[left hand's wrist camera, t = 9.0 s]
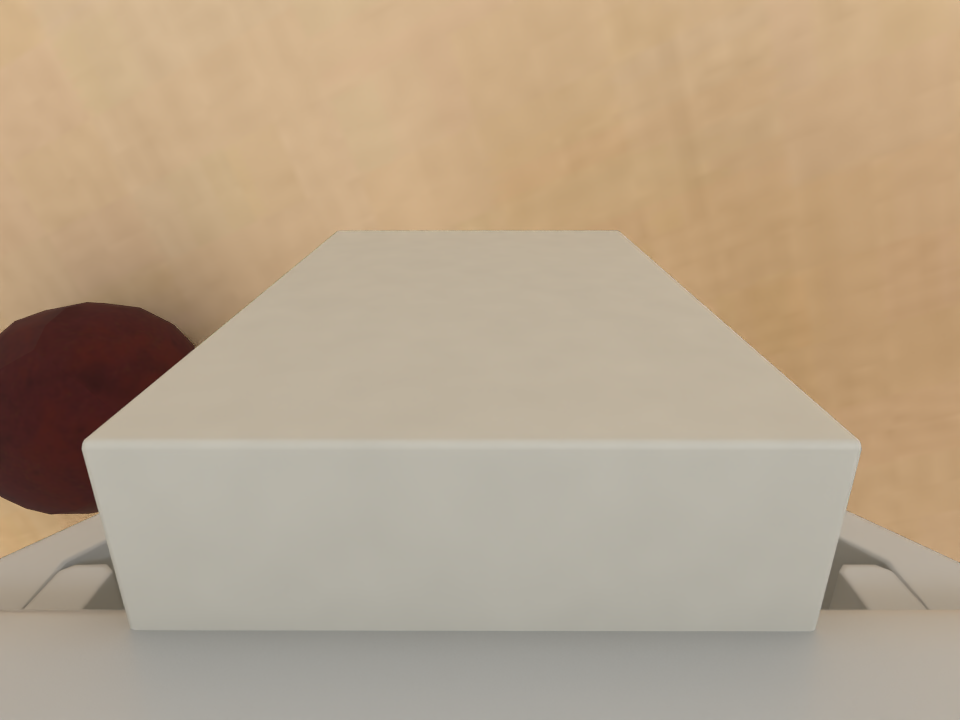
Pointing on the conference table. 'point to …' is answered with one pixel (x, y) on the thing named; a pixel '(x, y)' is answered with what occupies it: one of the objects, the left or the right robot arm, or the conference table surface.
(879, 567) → the left robot arm
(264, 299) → the bar
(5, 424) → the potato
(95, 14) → the conference table surface
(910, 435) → the conference table surface
